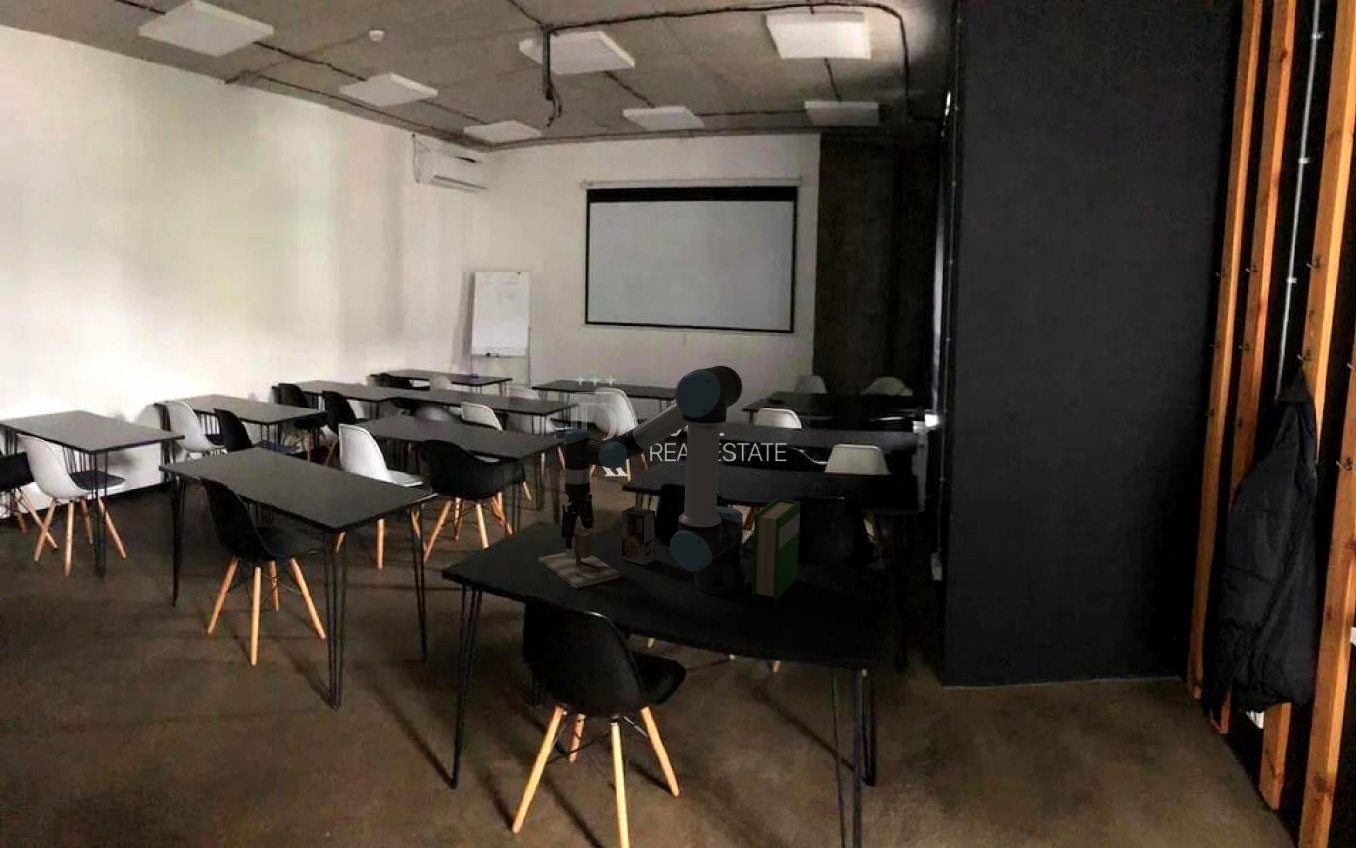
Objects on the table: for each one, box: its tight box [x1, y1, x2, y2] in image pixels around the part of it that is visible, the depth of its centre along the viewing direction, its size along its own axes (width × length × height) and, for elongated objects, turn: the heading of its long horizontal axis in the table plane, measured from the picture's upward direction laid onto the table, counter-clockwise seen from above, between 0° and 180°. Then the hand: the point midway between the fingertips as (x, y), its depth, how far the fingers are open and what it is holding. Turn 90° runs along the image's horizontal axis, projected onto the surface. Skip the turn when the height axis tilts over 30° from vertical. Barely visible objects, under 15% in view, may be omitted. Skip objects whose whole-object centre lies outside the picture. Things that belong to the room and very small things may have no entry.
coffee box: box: [620, 506, 656, 566], centre depth 241 cm, size 9×6×16 cm
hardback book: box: [751, 497, 801, 602], centre depth 220 cm, size 18×7×24 cm, turn 153°
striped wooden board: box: [538, 551, 621, 589], centre depth 233 cm, size 24×15×2 cm, turn 36°
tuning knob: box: [564, 528, 601, 570], centre depth 231 cm, size 12×3×10 cm, turn 54°
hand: (578, 553), depth 233 cm, fingers open, 8 cm apart
